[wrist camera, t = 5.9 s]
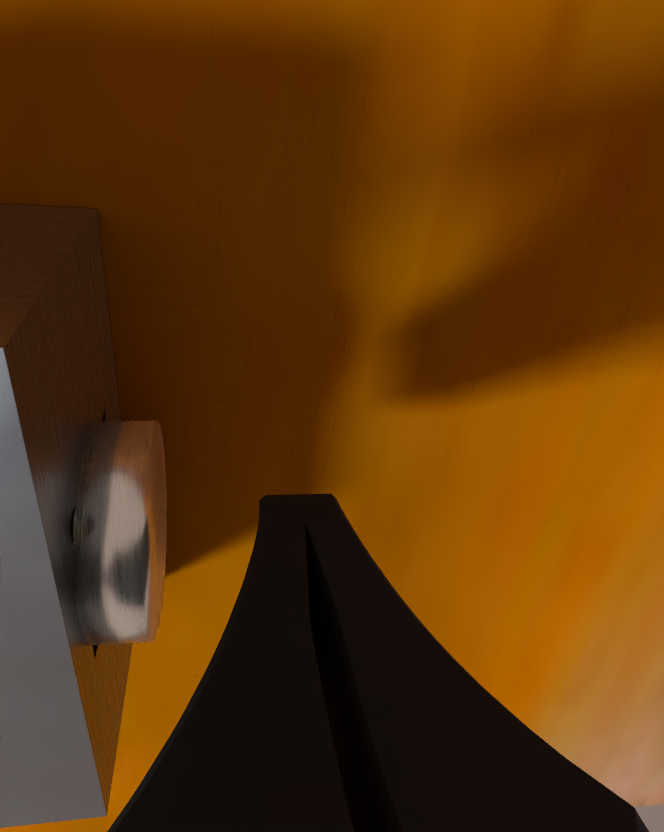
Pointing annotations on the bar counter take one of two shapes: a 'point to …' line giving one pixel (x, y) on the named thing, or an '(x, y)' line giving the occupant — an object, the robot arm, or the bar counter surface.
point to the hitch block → (51, 518)
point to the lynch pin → (120, 532)
